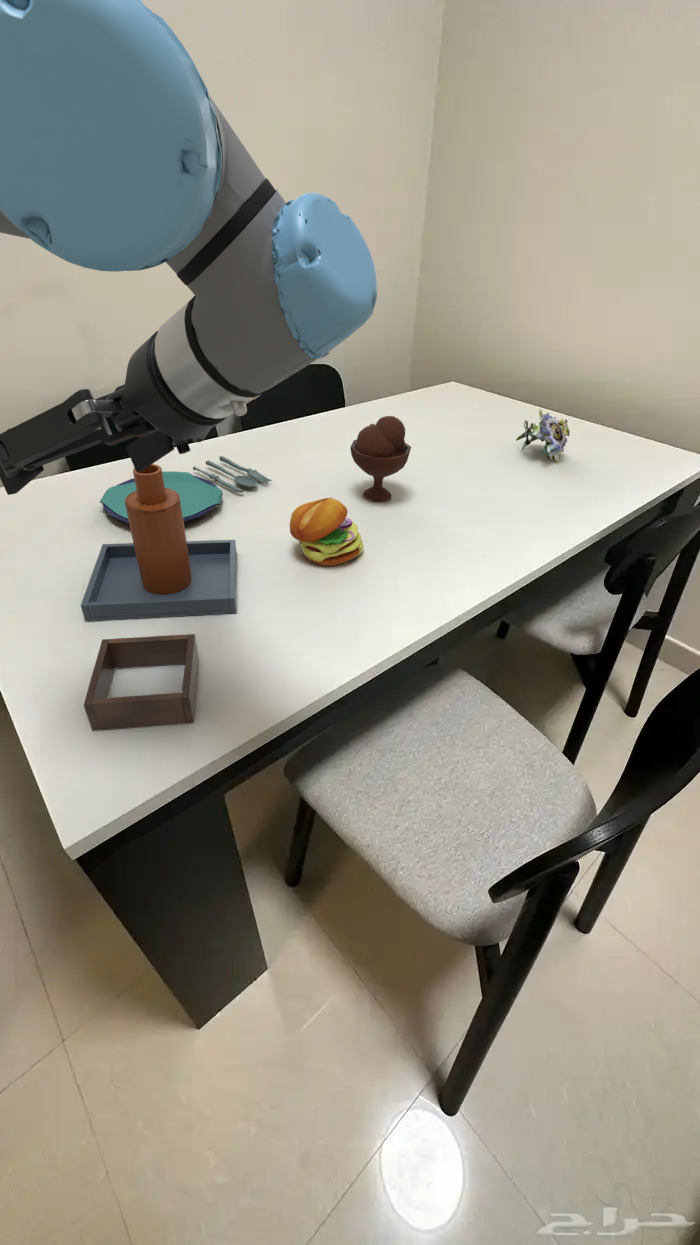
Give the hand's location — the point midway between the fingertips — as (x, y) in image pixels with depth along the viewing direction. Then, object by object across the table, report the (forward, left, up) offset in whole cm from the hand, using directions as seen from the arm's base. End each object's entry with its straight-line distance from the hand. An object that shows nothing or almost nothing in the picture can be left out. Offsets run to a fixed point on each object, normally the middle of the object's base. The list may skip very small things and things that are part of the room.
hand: (75, 468), depth 57 cm
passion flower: (+80, +59, -24) cm, 103 cm away
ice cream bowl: (+40, +41, -24) cm, 62 cm away
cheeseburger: (+28, +21, -24) cm, 43 cm away
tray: (+4, +14, -24) cm, 28 cm away
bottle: (+4, +14, -23) cm, 28 cm away
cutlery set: (+5, +42, -24) cm, 49 cm away
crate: (+4, -8, -24) cm, 25 cm away
